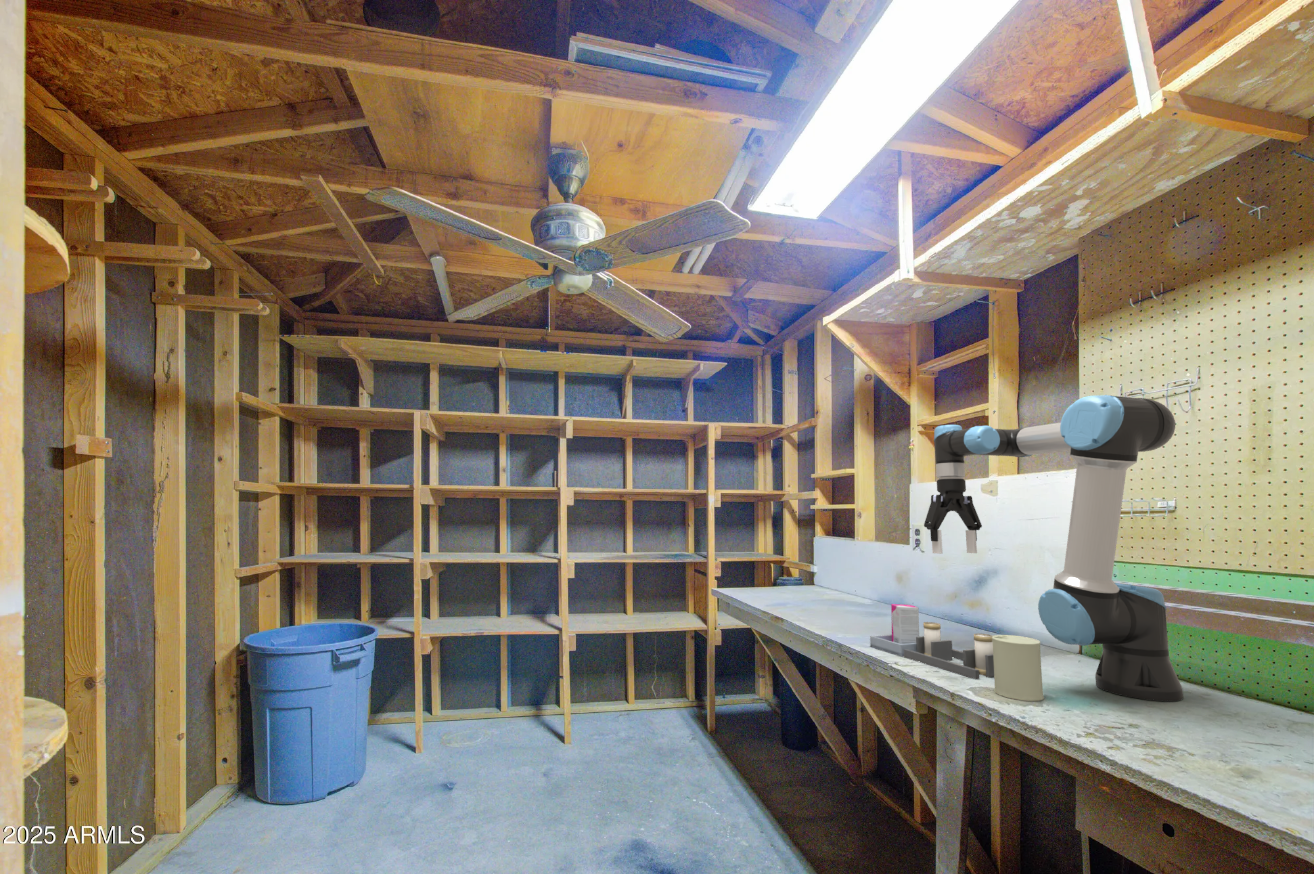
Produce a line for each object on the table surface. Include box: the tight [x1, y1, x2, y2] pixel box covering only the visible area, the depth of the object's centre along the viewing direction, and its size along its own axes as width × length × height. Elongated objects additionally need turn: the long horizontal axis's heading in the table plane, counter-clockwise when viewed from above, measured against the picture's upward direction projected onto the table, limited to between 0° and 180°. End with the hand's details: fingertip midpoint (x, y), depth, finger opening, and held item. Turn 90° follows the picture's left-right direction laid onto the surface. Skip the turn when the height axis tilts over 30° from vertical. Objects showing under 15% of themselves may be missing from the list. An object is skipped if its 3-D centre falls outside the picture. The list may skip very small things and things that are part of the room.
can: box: [992, 634, 1045, 702], centre depth 130 cm, size 9×9×12 cm
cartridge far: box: [922, 621, 942, 656], centre depth 162 cm, size 4×4×9 cm
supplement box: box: [890, 603, 920, 644], centre depth 171 cm, size 6×6×12 cm
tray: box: [869, 634, 921, 658], centre depth 171 cm, size 12×14×3 cm
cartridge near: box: [973, 632, 993, 676], centre depth 147 cm, size 4×4×9 cm
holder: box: [903, 635, 994, 680], centre depth 154 cm, size 22×14×5 cm, turn 22°
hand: (955, 553), depth 172 cm, fingers open, 13 cm apart
